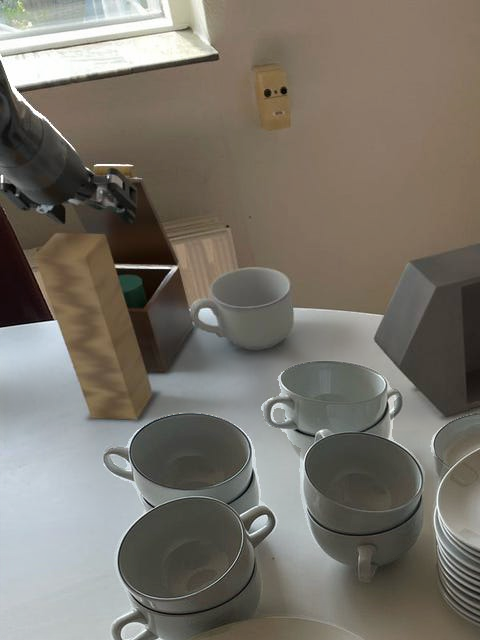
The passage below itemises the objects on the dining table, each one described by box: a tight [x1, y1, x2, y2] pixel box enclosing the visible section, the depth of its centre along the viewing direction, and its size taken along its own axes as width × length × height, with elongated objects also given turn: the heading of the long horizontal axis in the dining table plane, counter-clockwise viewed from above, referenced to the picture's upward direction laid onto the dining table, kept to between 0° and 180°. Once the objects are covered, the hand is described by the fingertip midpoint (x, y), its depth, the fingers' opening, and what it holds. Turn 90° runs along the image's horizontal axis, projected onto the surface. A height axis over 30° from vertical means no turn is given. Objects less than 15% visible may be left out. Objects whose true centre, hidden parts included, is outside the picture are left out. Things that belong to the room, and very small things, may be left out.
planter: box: [373, 242, 480, 417], centre depth 123 cm, size 17×8×21 cm
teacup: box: [189, 266, 295, 351], centre depth 137 cm, size 14×11×8 cm
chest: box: [114, 264, 195, 374], centre depth 136 cm, size 13×11×9 cm
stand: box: [33, 232, 154, 420], centre depth 121 cm, size 6×6×21 cm
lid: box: [70, 164, 179, 266], centre depth 132 cm, size 14×11×5 cm
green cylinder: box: [118, 275, 148, 308], centre depth 135 cm, size 5×5×9 cm
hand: (96, 216), depth 125 cm, fingers open, 8 cm apart
